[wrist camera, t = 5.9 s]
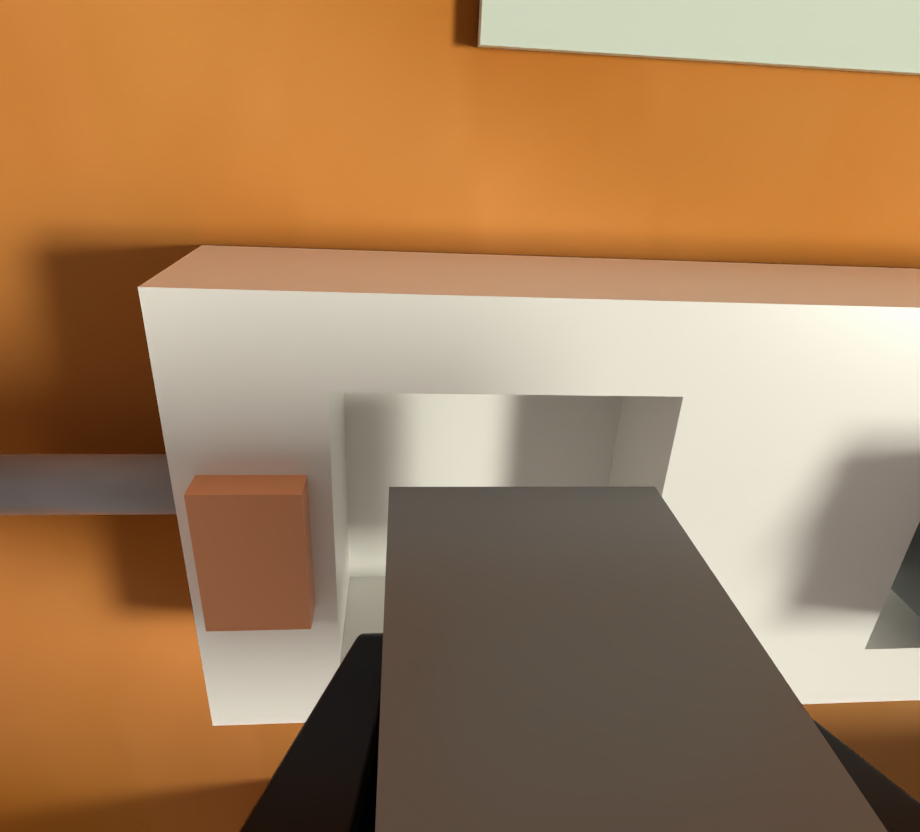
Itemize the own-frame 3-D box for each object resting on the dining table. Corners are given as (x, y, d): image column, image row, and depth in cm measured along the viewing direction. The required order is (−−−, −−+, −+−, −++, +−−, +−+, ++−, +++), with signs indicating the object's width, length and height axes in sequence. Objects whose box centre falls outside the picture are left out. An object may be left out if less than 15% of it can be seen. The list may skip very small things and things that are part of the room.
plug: (654, 486, 10) (1279, 1413, 3) (614, 678, 11) (940, 1547, 4) (389, 486, 9) (345, 1561, 2) (388, 685, 11) (363, 1646, 4)
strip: (1233, 278, 14) (1502, 332, 11) (1050, 597, 18) (1204, 712, 14) (-26, 237, 12) (-208, 289, 8) (78, 617, 15) (-15, 761, 12)
